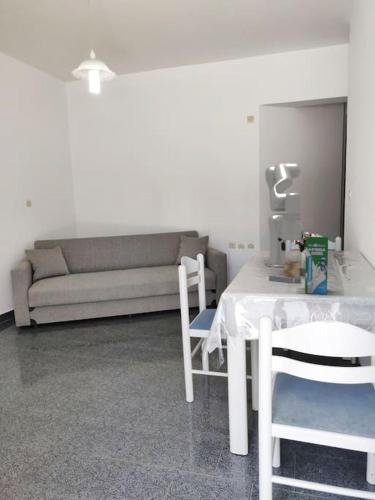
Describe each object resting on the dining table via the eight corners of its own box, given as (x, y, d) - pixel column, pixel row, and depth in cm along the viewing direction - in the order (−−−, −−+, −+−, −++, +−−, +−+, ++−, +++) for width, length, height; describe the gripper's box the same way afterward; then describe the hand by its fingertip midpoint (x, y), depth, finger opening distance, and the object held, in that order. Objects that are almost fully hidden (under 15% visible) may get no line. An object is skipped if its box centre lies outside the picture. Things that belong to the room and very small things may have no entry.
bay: (268, 282, 190) (268, 272, 189) (284, 275, 206) (284, 266, 205) (298, 286, 181) (298, 275, 181) (312, 278, 197) (312, 268, 196)
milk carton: (326, 289, 174) (328, 234, 171) (326, 294, 166) (328, 236, 162) (305, 288, 177) (306, 234, 174) (304, 293, 169) (306, 236, 165)
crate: (283, 276, 198) (284, 263, 197) (288, 274, 203) (288, 261, 202) (295, 278, 194) (295, 264, 193) (300, 276, 199) (300, 262, 198)
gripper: (273, 217, 196) (273, 251, 198) (307, 218, 186) (306, 253, 188) (279, 217, 202) (279, 249, 204) (312, 217, 192) (311, 251, 194)
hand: (292, 251), depth 196 cm, fingers open, 9 cm apart
